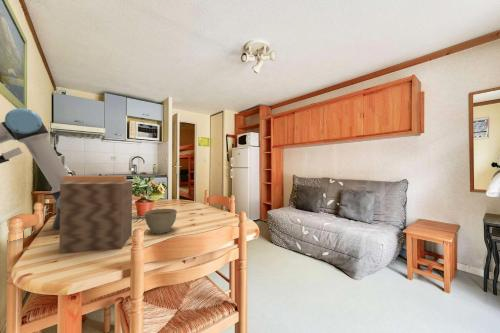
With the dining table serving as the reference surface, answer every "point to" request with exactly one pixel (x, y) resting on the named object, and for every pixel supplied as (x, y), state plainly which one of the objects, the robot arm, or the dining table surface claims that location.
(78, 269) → the dining table surface
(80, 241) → the walnut stand
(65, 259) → the dining table surface
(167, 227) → the planter bowl
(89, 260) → the dining table surface
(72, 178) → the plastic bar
